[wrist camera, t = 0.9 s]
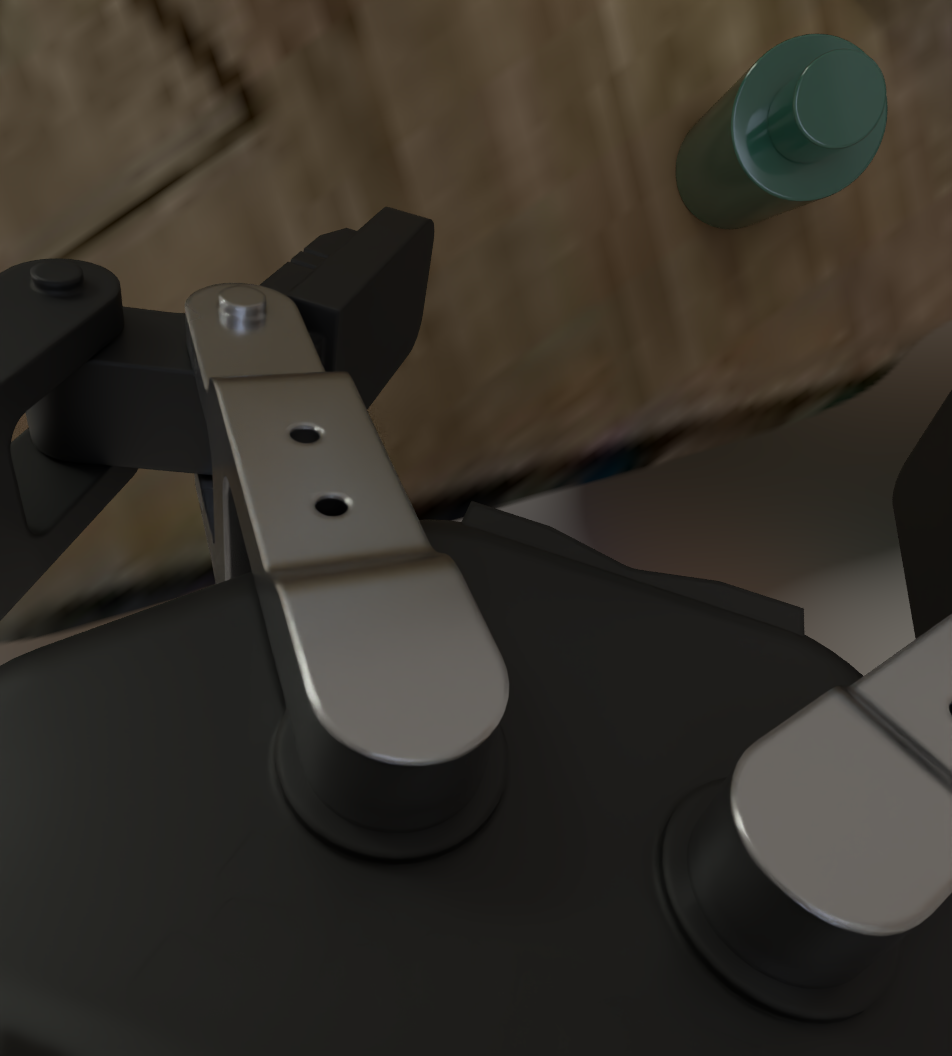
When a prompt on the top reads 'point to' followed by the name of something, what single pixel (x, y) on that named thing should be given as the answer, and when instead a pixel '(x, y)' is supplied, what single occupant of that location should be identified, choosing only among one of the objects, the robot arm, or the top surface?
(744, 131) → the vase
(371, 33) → the top surface
